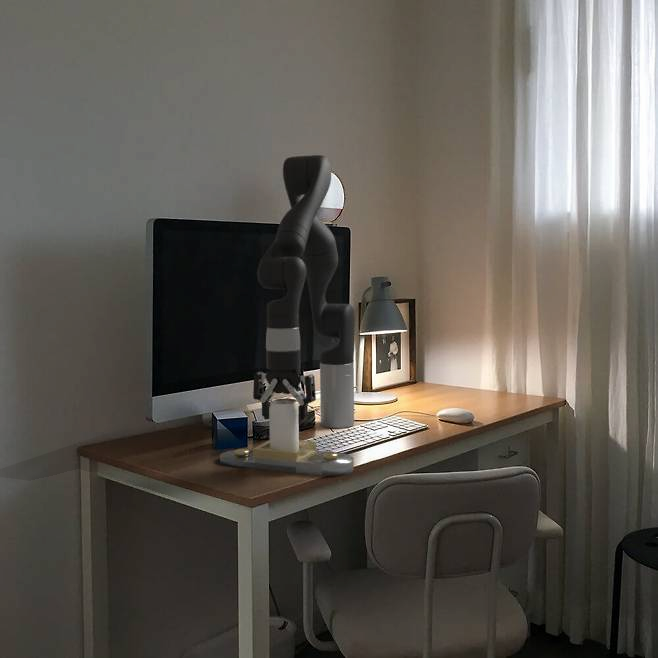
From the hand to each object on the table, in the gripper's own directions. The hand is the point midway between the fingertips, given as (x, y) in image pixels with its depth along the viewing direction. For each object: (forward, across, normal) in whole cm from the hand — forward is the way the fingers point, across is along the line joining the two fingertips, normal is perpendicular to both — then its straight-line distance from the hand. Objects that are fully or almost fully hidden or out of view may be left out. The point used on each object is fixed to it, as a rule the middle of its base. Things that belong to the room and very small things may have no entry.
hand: (284, 420), depth 172 cm
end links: (+10, 0, 0) cm, 10 cm away
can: (+8, 0, 0) cm, 8 cm away
